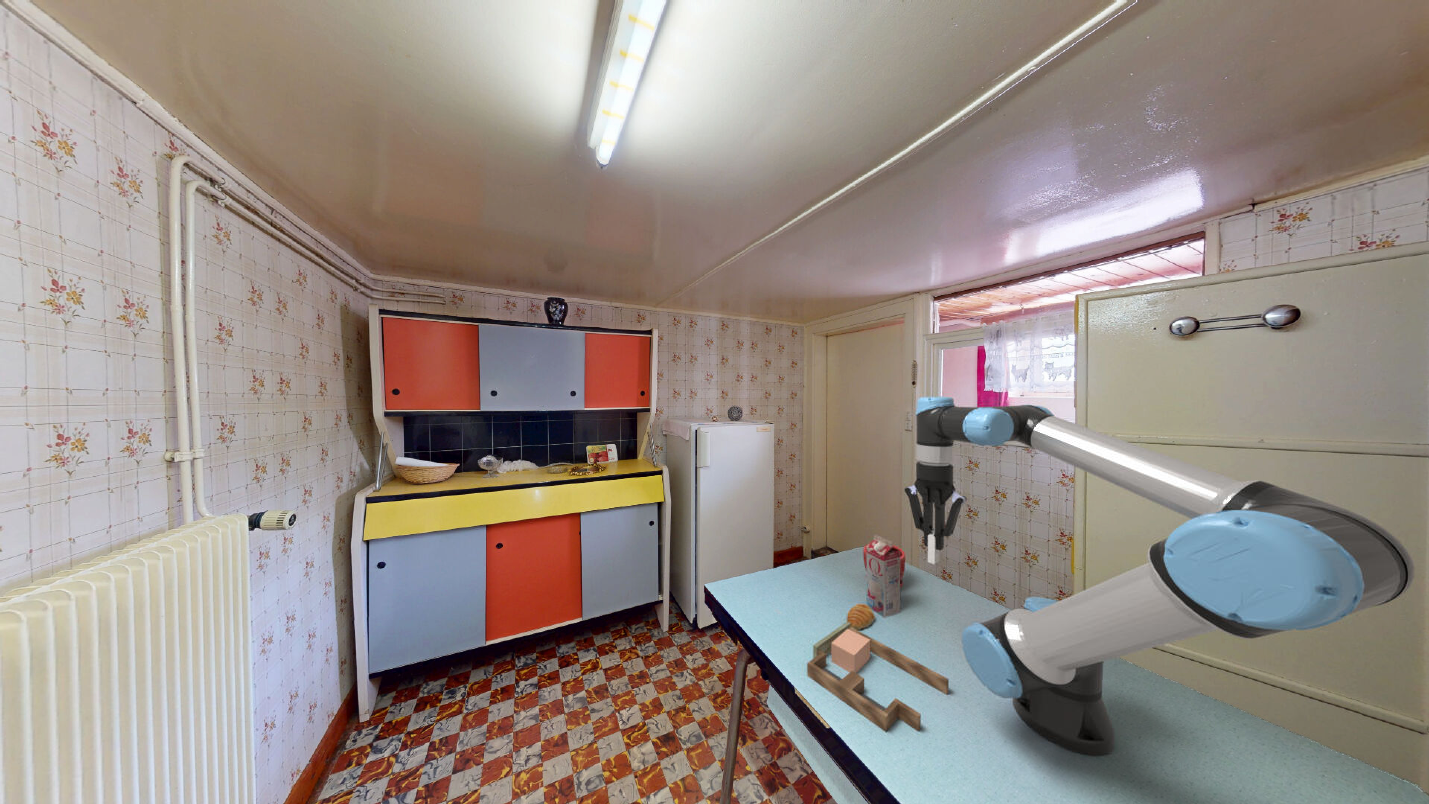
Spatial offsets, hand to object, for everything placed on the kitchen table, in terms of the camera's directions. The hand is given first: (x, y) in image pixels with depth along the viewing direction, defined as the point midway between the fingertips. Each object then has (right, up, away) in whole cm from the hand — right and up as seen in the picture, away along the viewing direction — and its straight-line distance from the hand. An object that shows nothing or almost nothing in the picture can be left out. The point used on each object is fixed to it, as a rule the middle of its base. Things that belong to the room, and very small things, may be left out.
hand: (933, 561), depth 90 cm
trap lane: (-16, -27, -2) cm, 31 cm away
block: (-18, -27, +5) cm, 33 cm away
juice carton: (0, -26, +26) cm, 37 cm away
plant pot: (+6, -25, +40) cm, 48 cm away
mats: (-22, -27, -6) cm, 35 cm away
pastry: (-10, -26, +20) cm, 34 cm away
